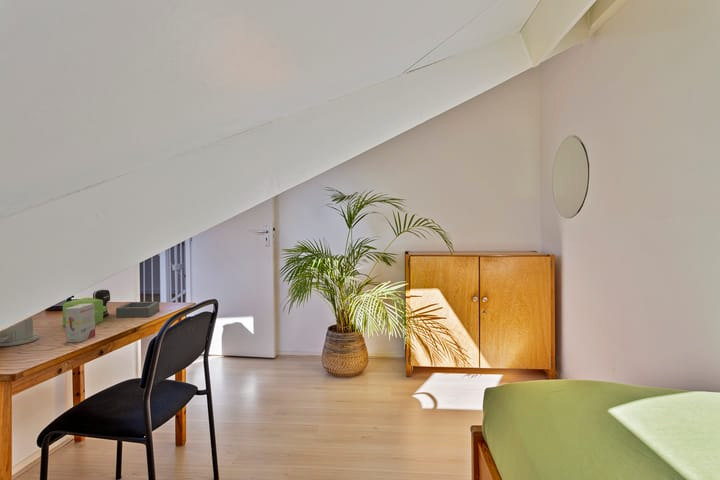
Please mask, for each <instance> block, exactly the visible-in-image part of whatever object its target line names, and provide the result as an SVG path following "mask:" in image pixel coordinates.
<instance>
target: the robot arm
mask: <svg viewBox="0 0 720 480" xmlns="http://www.w3.org/2000/svg"><path fill="white" fill-rule="evenodd" d="M39 338H40V334H39V333H37V332H34V316H33V317H31V318H29V319H27V320H25V321H23V322H21V323H19V324H17V325H15V326H13V327H10V328H8V329H6V330H4V331H2V332H0V347H12V346H19V345H24V344H28V343H32V342H35V341H37V340H38V339H39Z"/></svg>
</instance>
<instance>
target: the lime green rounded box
mask: <svg viewBox="0 0 720 480" xmlns="http://www.w3.org/2000/svg"><path fill="white" fill-rule="evenodd" d="M89 303H94V312H95V325H96V324H98V323H101V322H103V321H104V317H103V312H105V311H108V306H103V300H100V299H94V298H93V297H92V298H91V297H83V298H78V299H74V300H73V299H72V300H70V301H67V302H66V301H65V302H63V303H62V326H63V327H66V318H65V309H66V308H69V307H73V306H76V305H79V304H89Z"/></svg>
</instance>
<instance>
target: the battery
mask: <svg viewBox="0 0 720 480" xmlns="http://www.w3.org/2000/svg"><path fill="white" fill-rule="evenodd" d="M92 298H94V299H100V300H103V306H107V305H108V304H107V303H109V302H110V301H111V293H110V290H109V289H103V288H102V289H99V290H94V292H93V293H92ZM107 307H108V306H107ZM109 315H110V314H109V312H108V310H107V311H105V312H103V318H104V317H107V316H109Z"/></svg>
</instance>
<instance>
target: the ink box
mask: <svg viewBox="0 0 720 480" xmlns="http://www.w3.org/2000/svg"><path fill="white" fill-rule="evenodd" d="M65 318H66V326H65V342H66V343H81V341H82V342H84V341H86V340H89V339H90V338H92V337H95V336H96V324H95V312H94V303H89V304H79V305H76V306H73V307H69V308H66V309H65Z"/></svg>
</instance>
